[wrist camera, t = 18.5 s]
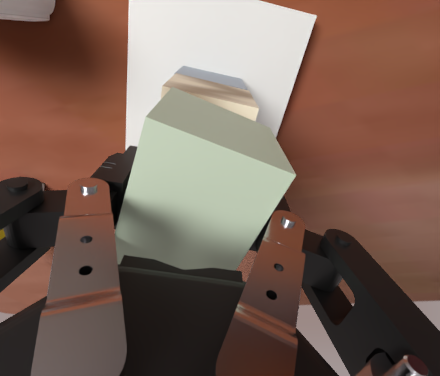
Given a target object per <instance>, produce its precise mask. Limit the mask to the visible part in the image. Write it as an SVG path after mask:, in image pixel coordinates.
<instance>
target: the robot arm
mask: <svg viewBox="0 0 440 376" xmlns="http://www.w3.org/2000/svg"><path fill="white" fill-rule="evenodd" d="M136 151H137V146H131V145H130V146H129V147H128V148H127V150H126V151H125V152H124V154H121V153H116V154H114V155H111V156H109V157H108V158H107V159H106V160H105V162H104V163H103V164H102V165H101V167H99V168H98V169H97V171H96V172H95V173H94V174H93V175H92V176H91V177H90V178H82V179H78V180H75V181H73V182H72V183H70V184H69V186H68V189H67V190H55V191H43V186H42V183H41V182H40V181H39V180H37V179H34V178H29V177H17V178H10V179H6V180H3V181H1V182H0V230H2V229H3V230H4V233H5V237H4V238H2V239H1V240H0V292H1V291H3V290H4V289H5V288H6V287H7V286H8V285H9V284H10V283H12V282H13V281H14V280H15V279H16V278H17V277H18V276H20V275H21V274H22V273H23V272H24V271H25V270H26V269H28V268H29V267H30V266H31V265H32V264H33V263H34V262H36V261H37V260H38V259H39V258H40V257H41V256H42V255H44V254H45V253H46V252H47V251H48V250H49V249H50V247H52V246H55V249H54V255H53V262H52V268H51V274H50V281H49V287H48V294H47V296H46V297H44V298H42V299H41V300H39V301H37V302H36V303H34V304H32V305H31V306H29V307H27V308H25V309H24V310H22V311H20V312H19V313H17V314H15V315H13V316H12V317H10V318H8V319H7V320H5V321H3V322H1V323H0V376H339V375H338V374H337V373H336V372H335V371H334V370H333V369H332V368H331V366H330V365H329V364H328V363H327V362H326V361H325V360H324V359H323V357H322V356H321V355H320V354H319V353H318V352H317V351H316V350H315V349H314V347H313V346H312V345H311V344H310V343H309V342H308V341H307V340H306V338H305V337H304V336H303V335H302V334H301V333H300V332H299V331H298V329H297V328H296V324H297V316H298V309H299V301H300V293H301V286H302V288H303V290H304V292H305V294H306V295H307V297H308V299H309V301H310V303H311V305H312V306H313V308H314V310H315V312H316V314H317V316H318V317H319V319H320V321H321V323H322V325H323V326H324V328H325V330H326V332H327V334H328V336H329V337H330V339H331V341H332V343H333V345H334V347H335V348H336V350H337V352H338V354H339V356H340V357H341V359H342V361H343V363H344V365H345V367H346V368H347V370H348V372H349V374H350V376H440V331H439V330H438V329H437V328H436V327H435V326H434V325H433V324H432V322H431V321H430V320H429V319H428V318H427V317H426V316H425V315H424V314H423V313H422V311H421V310H420V309H419V308H418V307H417V306H416V305H415V304H414V303H413V302H412V300H411V299H410V298H409V297H408V296H407V295H406V294H405V293H404V292H403V291H402V289H401V288H400V287H399V286H398V285H397V284H396V283H395V282H394V281H393V280H392V279H391V277H390V276H389V275H388V274H387V273H386V272H385V271H384V270H383V269H382V268H381V266H380V265H379V264H378V263H377V262H376V261H375V260H374V259H373V258H372V257H371V255H370V254H369V253H368V252H367V251H366V250H365V249H364V248H363V247H362V246H361V245H360V243H359V242H358V241H357V240H356V239H355V238H354V237H352V236H351V235H349V234H348V233H346V232H343V231H341V230H337V229H329V230H327V231H326V232H325V234H324V236H321V235H318V234H316V233H313V232H310V231H308V230H306V229H305V223H304V221H303V220H302V219H301V218H300V217H299V216H297V215H296V214H294V213H291V212H290V209H289V207H288V204H287V202H286V200H285V197H284V195H283V197H282V198H281V200H280V202H279V203H278V205H277V206H276V208H275V209H274V211H273V213H272V214H271V216H270V217H269V219H268V220H267V222H266V224H265V225H264V227H263V228H262V230H261V231H260V233H259V235H258V236H257V238H256V239H255V241H254V242H253V244H252V246H251V247H250V249H249V250H253V251H257V255H256V258H255V260H254V263H253V266H252V268H251V271H250V273H249V276H248V279H247V281H246V282H244V281H242V272H241V271H234V270H227V269H220V268H201V269H187V270H184V269H180V268H177V267H174V266H171V265H169V264H166V263H163V262H160V261H158V260H155V259H149V258H142V257H135V256H128V255H124V256H123V258H122V261H121V263H120V264H118V262H117V252H116V242H115V231H114V229H116V227H117V223H118V219H119V215H120V212H121V208H122V204H123V200H124V196H125V193H126V189H127V185H128V181H129V177H130V174H131V170H132V166H133V162H134V159H135V155H136ZM342 278H343V279H344V280H345V282H346V283H347V284H348V286H349V287H350V289H351V290H352V292H353V294H354V297H355V304H354V306H352V305H351V303H350V302H349V300H348V299H347V298H346V296H345V295H344V293H343V292H342V290H341V289H340V287H339V286H338V284H339V283H340V281H341V280H342Z"/></svg>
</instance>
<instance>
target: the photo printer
mask: <svg viewBox="0 0 440 376" xmlns="http://www.w3.org/2000/svg"><path fill="white" fill-rule="evenodd" d="M54 7H55V0H0V19H6V20H15V21H17V20H19V21H35V22H36V21H48V20H50V14H52V12H53V10H54Z"/></svg>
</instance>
